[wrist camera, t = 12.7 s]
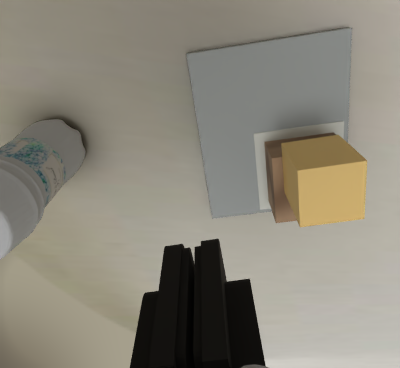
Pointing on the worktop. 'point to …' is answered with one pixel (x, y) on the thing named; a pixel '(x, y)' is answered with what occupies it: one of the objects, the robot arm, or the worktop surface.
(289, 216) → the walnut block
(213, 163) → the plate
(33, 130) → the bottle
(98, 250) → the worktop surface
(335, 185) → the ochre block
